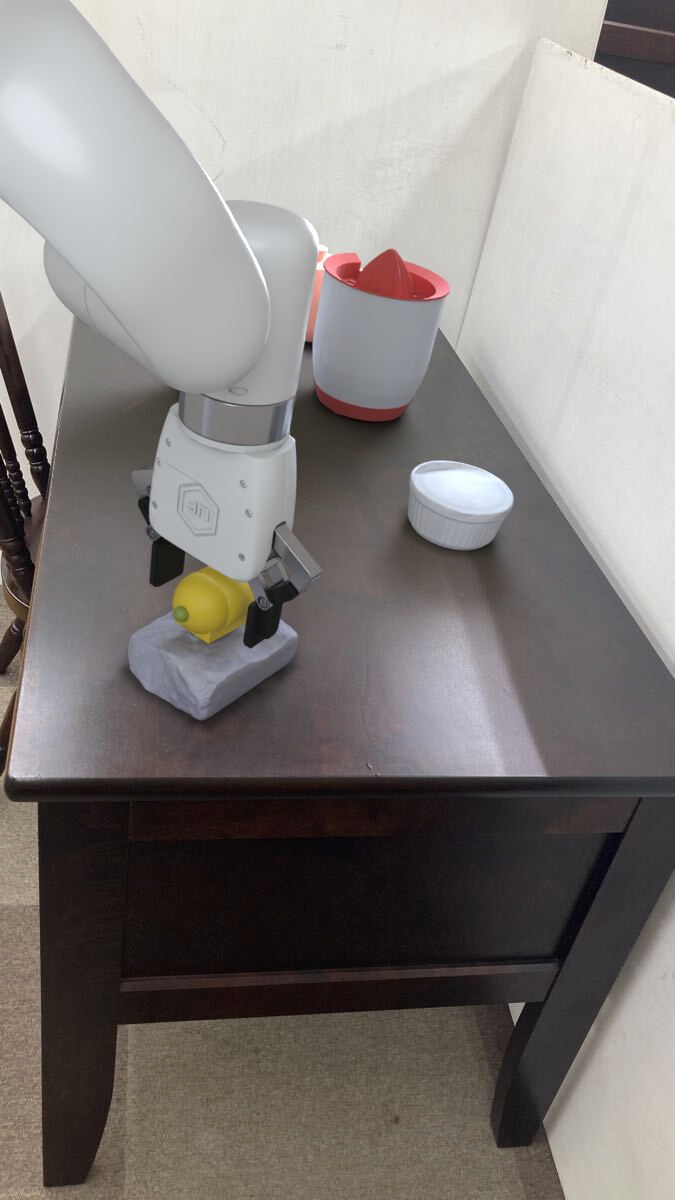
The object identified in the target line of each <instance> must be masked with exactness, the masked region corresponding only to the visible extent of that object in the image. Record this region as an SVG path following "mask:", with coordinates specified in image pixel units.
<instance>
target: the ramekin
mask: <svg viewBox="0 0 675 1200" xmlns="http://www.w3.org/2000/svg"><path fill="white" fill-rule="evenodd" d="M408 487H409V493H408V503H407V504H408V505H407V517H408V520H409V522H410V524H411V526H412V528H413V529H414V531H415V532H416V533H417V534H418V535H419V536H420V537H422V538H423V539H424V540H426V541H428V542H430V543H432V544H434V545H437V546H439V547H442V548H444V549H445V548H446V549H451V550H454V551H474V550H478V549H481V548H483V547H484V546H486V545H488V544H490V543H491V542H493V540H494V539H495V538H496V535H497V534H498V532H499V530H500V528H501V526H502V524H503V522H504V520H505V518H506V517H508V515H509V514H510V512H511V511H512V508H513V505H514V503H515V501H514V499H515V498H514V494H513V492H512V490H511V488H509V486H508V485H507V484H506V483H505V482H504V481H503V480H502V479H501V478H500V477H497V476H496V475H494V474H493V473H491V472H489V471H486V470H485V469H482V468H480V467H478V466H475V465H471V464H467V463H465V462H464V463H463V462H459V461H453V460H429V461H426V462H422V463H420V464H418V465H416V466H415V467H414V468H413V469H412V471H411V473H410V475H409V479H408Z"/></svg>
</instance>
